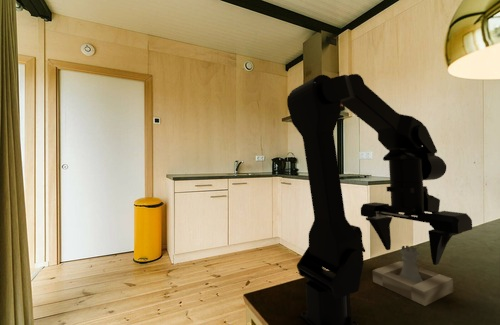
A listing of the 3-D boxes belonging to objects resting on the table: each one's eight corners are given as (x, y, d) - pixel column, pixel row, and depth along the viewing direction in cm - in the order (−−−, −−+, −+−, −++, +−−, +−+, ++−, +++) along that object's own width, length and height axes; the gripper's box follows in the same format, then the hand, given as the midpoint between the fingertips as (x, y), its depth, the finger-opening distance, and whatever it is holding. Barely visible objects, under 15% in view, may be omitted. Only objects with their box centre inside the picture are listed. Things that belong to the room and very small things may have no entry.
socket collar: (425, 306, 40) (424, 291, 40) (373, 281, 49) (372, 270, 49) (453, 291, 44) (452, 278, 44) (400, 271, 53) (400, 261, 53)
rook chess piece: (412, 294, 44) (410, 252, 44) (393, 283, 48) (391, 245, 49) (430, 290, 45) (428, 250, 45) (409, 280, 49) (407, 243, 50)
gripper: (483, 181, 43) (488, 264, 42) (386, 179, 59) (389, 238, 59) (453, 184, 38) (459, 278, 37) (357, 181, 55) (360, 246, 54)
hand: (409, 256), depth 47 cm, fingers open, 9 cm apart
